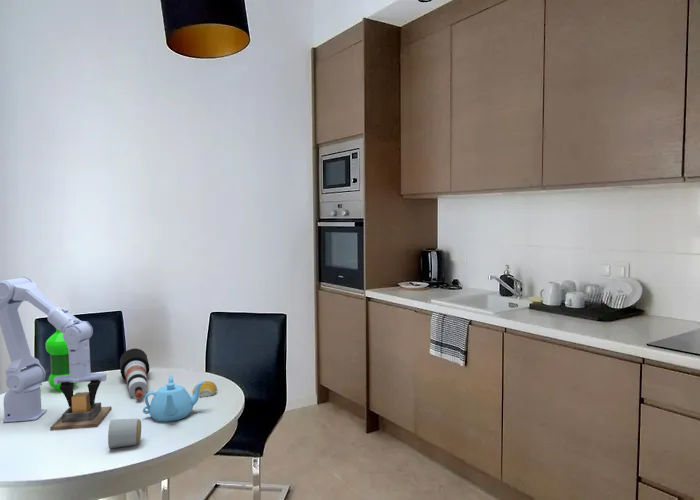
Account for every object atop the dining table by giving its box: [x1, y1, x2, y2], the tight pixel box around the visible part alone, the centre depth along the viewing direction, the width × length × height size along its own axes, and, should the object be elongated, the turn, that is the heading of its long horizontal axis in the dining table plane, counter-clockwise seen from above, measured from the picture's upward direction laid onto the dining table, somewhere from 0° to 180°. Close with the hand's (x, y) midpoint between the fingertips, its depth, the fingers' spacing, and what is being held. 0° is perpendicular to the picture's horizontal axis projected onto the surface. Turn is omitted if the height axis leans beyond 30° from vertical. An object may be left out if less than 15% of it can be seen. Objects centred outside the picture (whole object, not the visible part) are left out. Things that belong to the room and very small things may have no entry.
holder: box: [49, 402, 112, 431], centre depth 156 cm, size 13×14×4 cm
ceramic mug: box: [107, 418, 142, 449], centre depth 139 cm, size 10×8×7 cm
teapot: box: [142, 375, 205, 423], centre depth 158 cm, size 15×15×10 cm
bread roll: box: [192, 380, 218, 398], centre depth 178 cm, size 8×9×4 cm
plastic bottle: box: [45, 326, 78, 392], centre depth 184 cm, size 10×10×25 cm
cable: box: [119, 347, 150, 400], centre depth 184 cm, size 10×34×10 cm, turn 26°
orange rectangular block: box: [72, 391, 91, 413], centre depth 155 cm, size 4×4×7 cm
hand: (81, 404), depth 155 cm, fingers open, 5 cm apart
